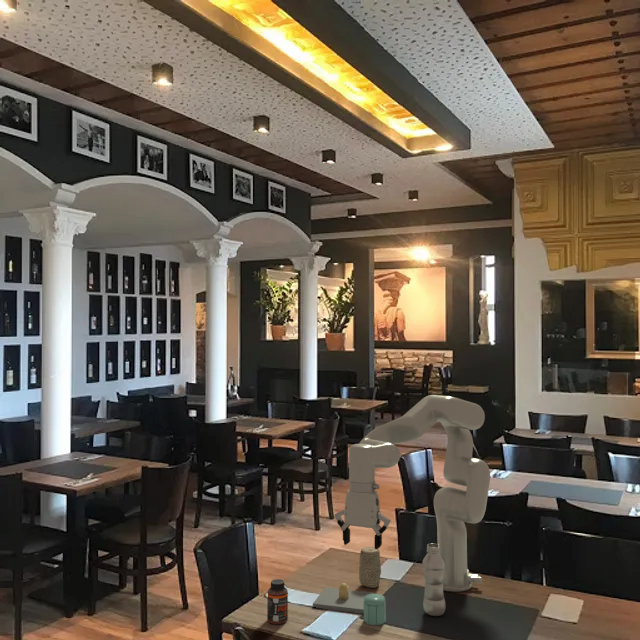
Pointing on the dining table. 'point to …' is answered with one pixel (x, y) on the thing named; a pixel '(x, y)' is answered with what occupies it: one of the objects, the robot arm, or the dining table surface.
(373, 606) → the cap
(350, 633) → the dining table surface
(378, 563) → the carving
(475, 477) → the robot arm
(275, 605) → the supplement bottle
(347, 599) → the grey square board
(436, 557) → the plastic bottle
